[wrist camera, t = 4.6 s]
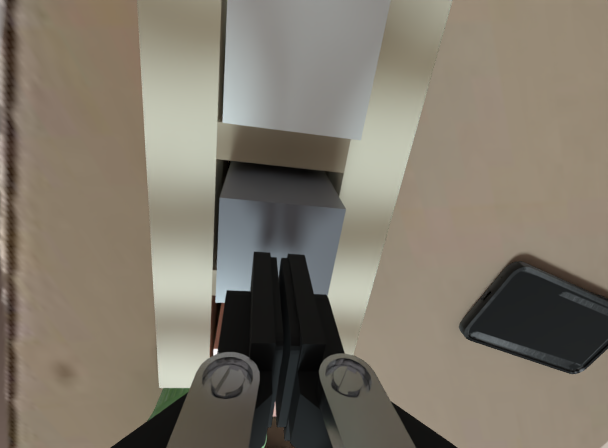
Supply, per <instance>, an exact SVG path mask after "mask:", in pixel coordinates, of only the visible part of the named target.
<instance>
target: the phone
mask: <svg viewBox="0 0 608 448" xmlns="http://www.w3.org/2000/svg"><path fill="white" fill-rule="evenodd" d="M500 277H502V278H500ZM489 291H491V293H490V295H489V296H488V297H487V298H486V299H485V301H484V300H483V299H484V297H485V296H486V295H487V294H488V293H489ZM459 329H460V331H461V332H462V334H463V335H464V336H465V338H466V339H468V340H470V341H473V342H476V343H479V344H482V345H485V346H488V347H491V348H494V349H497V350H500V351H503V352H506V353H509V354H512V355H515V356H518V357H521V358H524V359H527V360H530V361H533V362H536V363H539V364H542V365H545V366H548V367H551V368H554V369H557V370H560V371H563V372H566V373H569V374H577V373H580V372H582V371H584V370H585V369H586V368H587V367H589V366H590V365H591V364H592V363H593V362H594V361H595V360H596V359H597V358H598V357H599V356H600V355H601V354H603V353H604V352H605V351H606V350H607V349H608V299H606V298H605V297H603V296H601V295H596V294H594V293H592V292H589V291H587V290H585V289H583V288H580V287H578V286H576V285H574V284H571V283H569V282H567V281H565V280H563V279H560V278H558V277H556V276H554V275H551V274H549V273H547V272H545V271H543V270H540V269H538V268H536V267H534V266H531V265H529V264H527V263H525V262H521V261H519V262H514V263H511V264H510V265H508V266H507V267H506V268H505V269H504V270H503V271H502V272H501V273H500V275H499V276H498V277H497V278H496V279H495V281H494V282H493V283H492V284H491V286H490V287H489V288H488V289H487V290H486V292H485V293H484V294H483V295H482V296H481V298H480V299H479V300H478V301H477V302H476V304H475V305H474V306H473V307H472V309H471V310H470V311H469V312H468V313H467V315H466V316H465V317H464V318H463V319H462V321H461V322H460V325H459Z"/></svg>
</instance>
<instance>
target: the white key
mask: <svg viewBox="0 0 608 448" xmlns="http://www.w3.org/2000/svg"><path fill="white" fill-rule="evenodd" d="M390 2H391V0H227V21H226V46H225V72H224V97H223V123H228V124H236V125H244V126H252V127H259V128H267V129H275V130H283V131H291V132H299V133H306V134H314V135H322V136H330V137H338V138H346V139H353V140H361V137H362V133H363V128H364V123H365V119H366V114H367V109H368V105H369V100H370V95H371V91H372V86H373V81H374V77H375V72H376V67H377V63H378V58H379V53H380V49H381V44H382V39H383V35H384V30H385V25H386V21H387V16H388V11H389V7H390Z"/></svg>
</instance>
